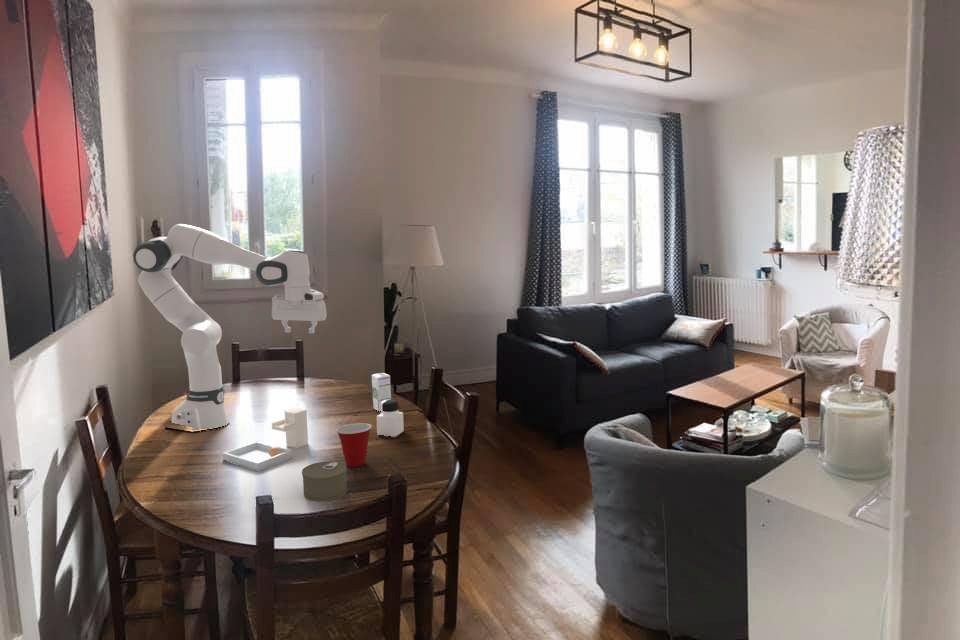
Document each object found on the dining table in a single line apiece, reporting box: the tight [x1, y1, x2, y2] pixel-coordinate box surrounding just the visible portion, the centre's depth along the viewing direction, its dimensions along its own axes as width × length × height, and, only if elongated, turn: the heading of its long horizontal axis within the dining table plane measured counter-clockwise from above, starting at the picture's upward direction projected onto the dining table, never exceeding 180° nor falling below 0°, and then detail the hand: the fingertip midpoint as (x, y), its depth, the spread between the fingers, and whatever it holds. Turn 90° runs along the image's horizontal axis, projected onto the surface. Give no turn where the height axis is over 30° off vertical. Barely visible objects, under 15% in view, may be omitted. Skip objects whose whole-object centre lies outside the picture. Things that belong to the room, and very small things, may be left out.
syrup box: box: [371, 372, 392, 413], centre depth 257 cm, size 6×6×14 cm
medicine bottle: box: [376, 398, 405, 438], centre depth 228 cm, size 7×7×12 cm
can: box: [301, 461, 348, 503], centre depth 178 cm, size 12×12×7 cm
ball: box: [269, 446, 279, 457], centre depth 204 cm, size 3×3×3 cm
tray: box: [222, 441, 293, 472], centre depth 204 cm, size 17×13×2 cm
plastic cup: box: [335, 422, 372, 468], centre depth 199 cm, size 11×11×12 cm
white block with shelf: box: [271, 407, 309, 449], centre depth 214 cm, size 10×6×12 cm, turn 147°
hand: (299, 332), depth 232 cm, fingers open, 8 cm apart
